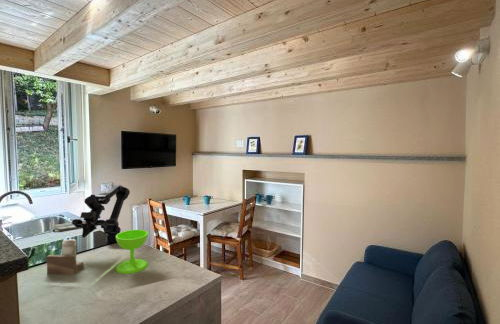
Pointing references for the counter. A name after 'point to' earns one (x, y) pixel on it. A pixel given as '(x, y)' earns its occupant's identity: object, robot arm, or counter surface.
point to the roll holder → (62, 265)
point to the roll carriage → (69, 248)
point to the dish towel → (63, 227)
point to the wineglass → (131, 250)
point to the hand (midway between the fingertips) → (83, 237)
